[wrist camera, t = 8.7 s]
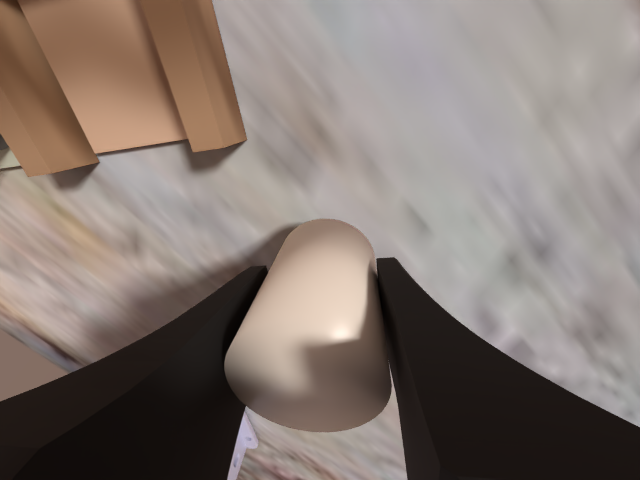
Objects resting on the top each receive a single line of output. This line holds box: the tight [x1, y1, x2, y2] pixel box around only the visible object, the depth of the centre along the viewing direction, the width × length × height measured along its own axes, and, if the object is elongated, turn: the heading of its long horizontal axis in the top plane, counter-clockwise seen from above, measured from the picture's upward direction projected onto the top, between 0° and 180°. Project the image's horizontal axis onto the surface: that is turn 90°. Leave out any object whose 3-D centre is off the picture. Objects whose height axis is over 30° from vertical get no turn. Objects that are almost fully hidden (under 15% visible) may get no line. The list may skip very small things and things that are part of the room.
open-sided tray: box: [0, 0, 247, 177], centre depth 10 cm, size 8×16×2 cm, turn 99°
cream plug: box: [224, 219, 392, 432], centre depth 9 cm, size 4×4×6 cm
